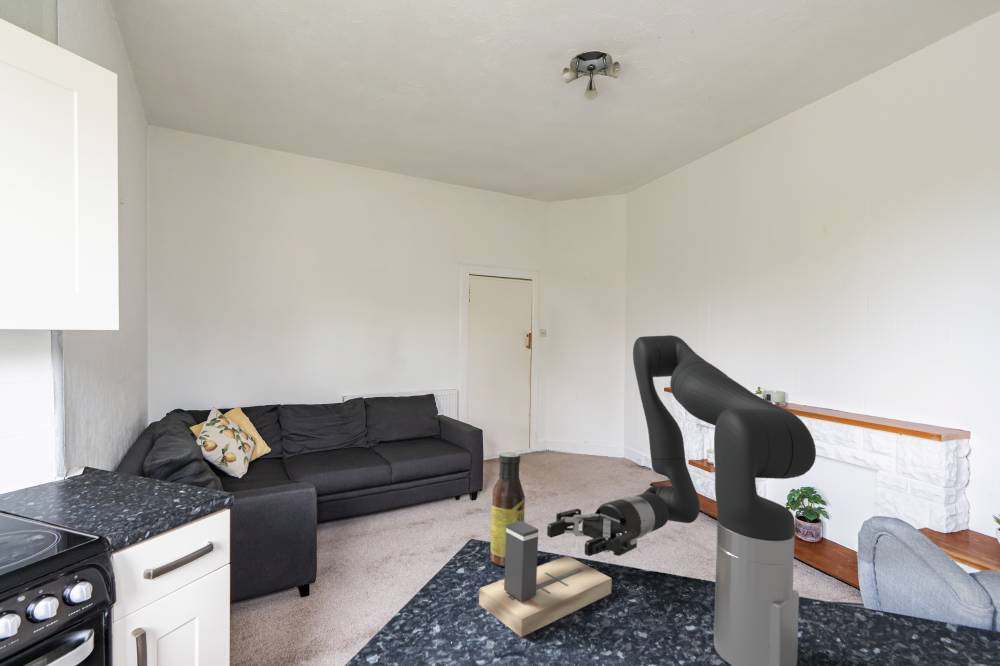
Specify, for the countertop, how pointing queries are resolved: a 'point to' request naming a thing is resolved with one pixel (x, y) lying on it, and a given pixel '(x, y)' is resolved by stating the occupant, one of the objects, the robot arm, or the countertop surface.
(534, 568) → the fader cap
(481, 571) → the countertop surface
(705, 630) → the countertop surface
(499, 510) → the sauce bottle
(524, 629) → the fader console
